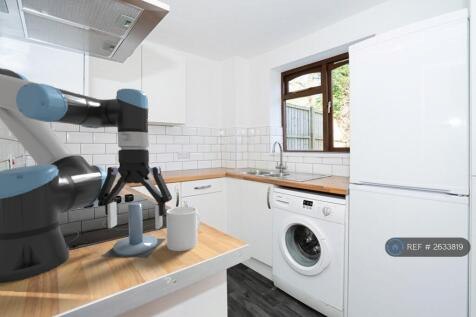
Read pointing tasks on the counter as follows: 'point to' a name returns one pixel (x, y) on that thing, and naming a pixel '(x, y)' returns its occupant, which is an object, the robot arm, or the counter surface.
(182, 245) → the mug
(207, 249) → the counter surface
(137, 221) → the lid
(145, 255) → the mat
